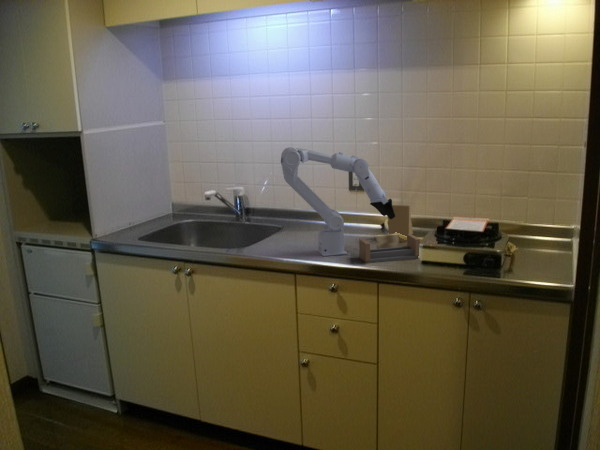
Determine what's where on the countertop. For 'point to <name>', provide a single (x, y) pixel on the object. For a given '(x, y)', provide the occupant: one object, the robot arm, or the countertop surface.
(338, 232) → the robot arm
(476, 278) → the countertop surface
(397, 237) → the door panel
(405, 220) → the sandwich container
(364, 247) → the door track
